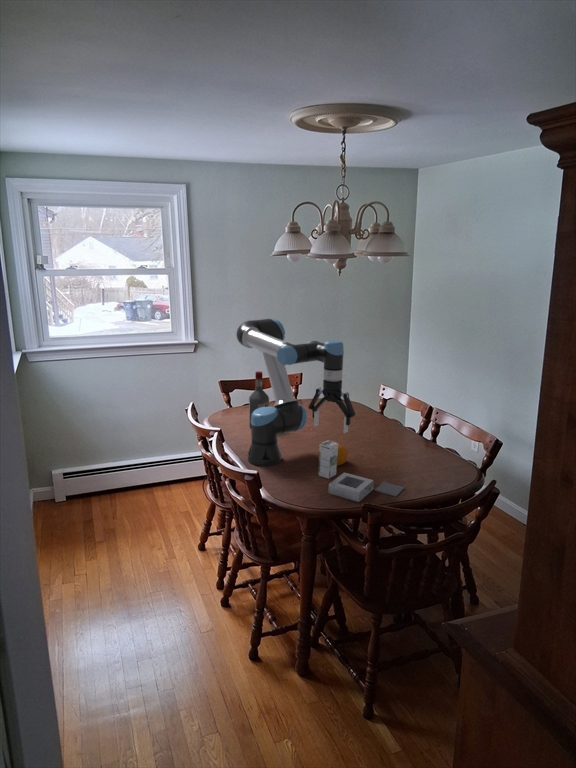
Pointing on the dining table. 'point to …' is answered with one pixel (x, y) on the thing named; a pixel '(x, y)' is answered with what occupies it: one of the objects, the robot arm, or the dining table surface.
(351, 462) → the dining table surface
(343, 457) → the fruit
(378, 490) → the mat
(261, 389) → the liquor
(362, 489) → the block
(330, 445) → the syrup box
